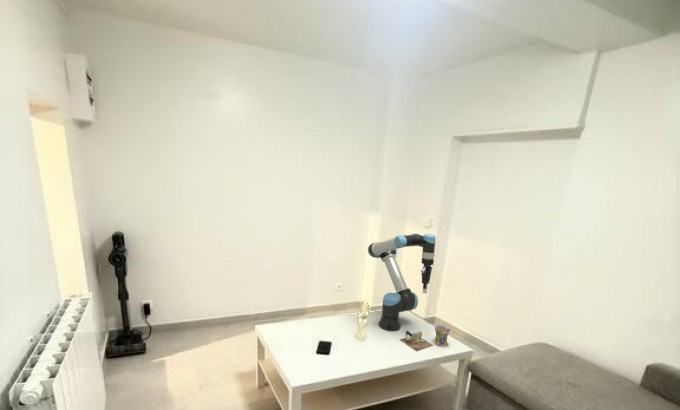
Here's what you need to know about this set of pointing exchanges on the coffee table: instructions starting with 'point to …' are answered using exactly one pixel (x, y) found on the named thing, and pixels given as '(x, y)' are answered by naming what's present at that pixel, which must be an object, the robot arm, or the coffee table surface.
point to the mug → (441, 336)
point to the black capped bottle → (412, 336)
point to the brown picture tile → (417, 344)
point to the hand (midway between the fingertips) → (424, 292)
